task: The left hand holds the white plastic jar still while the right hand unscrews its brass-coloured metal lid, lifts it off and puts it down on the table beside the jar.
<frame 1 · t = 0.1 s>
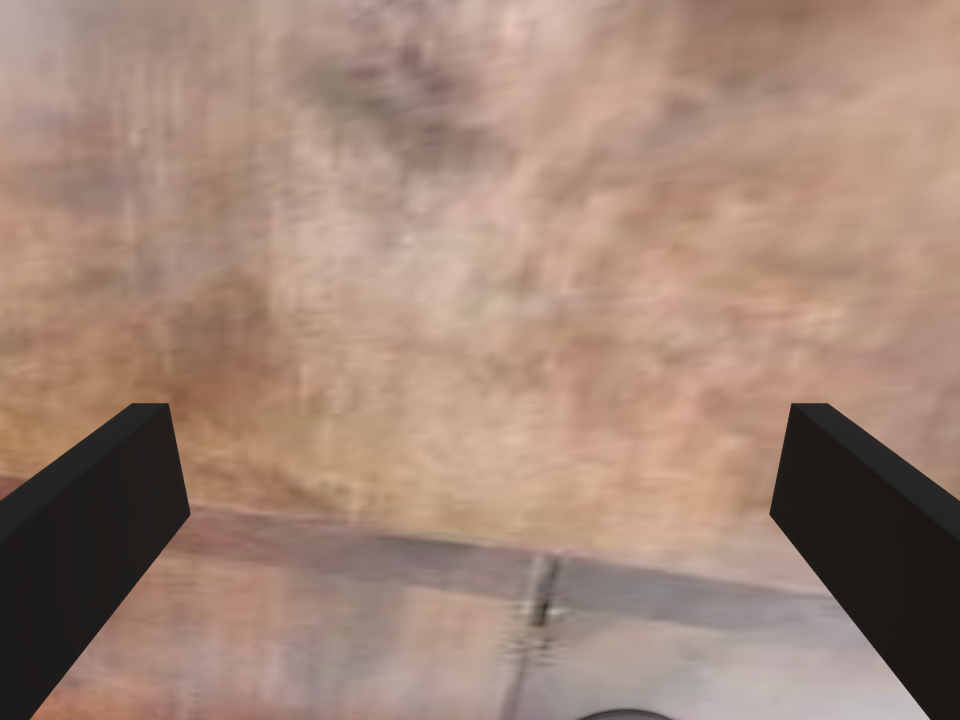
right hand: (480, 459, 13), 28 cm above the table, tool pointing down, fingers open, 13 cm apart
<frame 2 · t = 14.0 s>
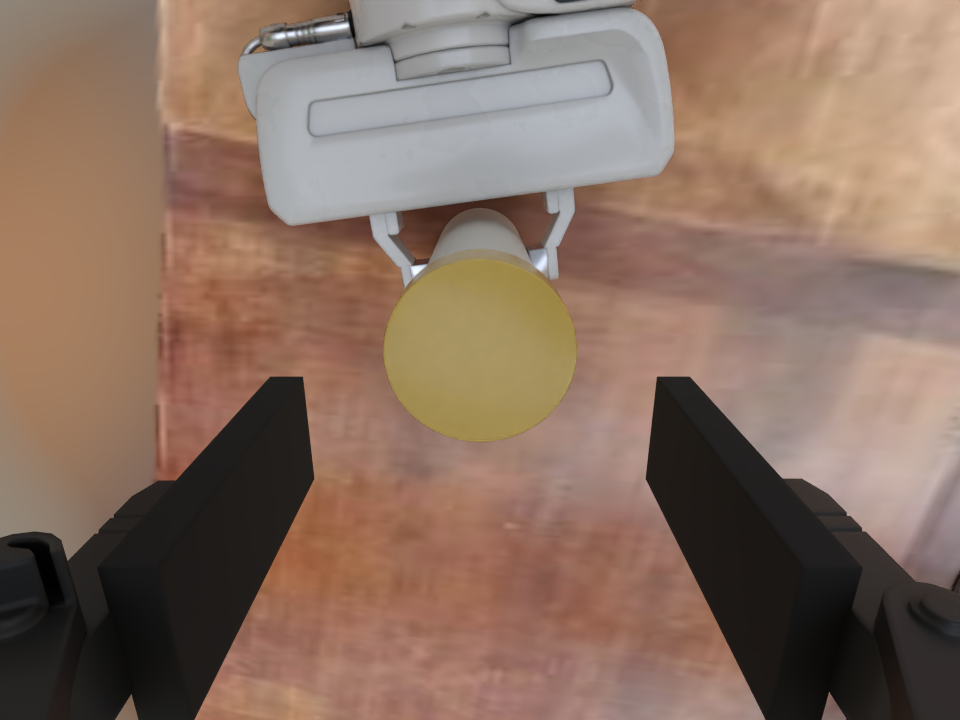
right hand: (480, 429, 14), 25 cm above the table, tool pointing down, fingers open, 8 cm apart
lid: (480, 352, 19), point 20 cm above the table, screwed on, not yet turned
jar: (480, 250, 38), on the table, touching left hand
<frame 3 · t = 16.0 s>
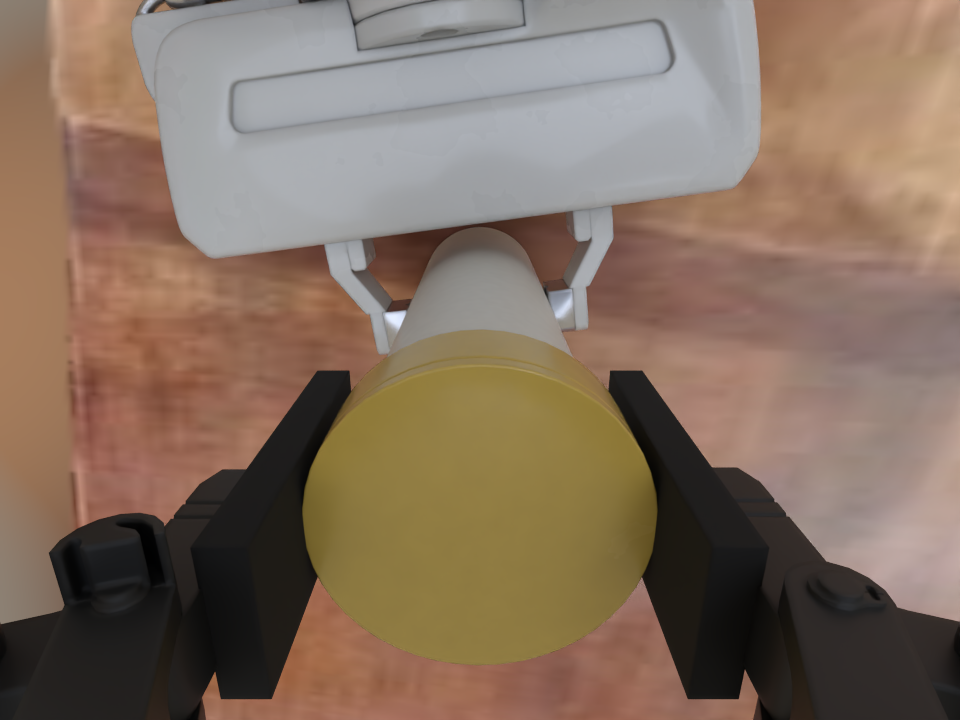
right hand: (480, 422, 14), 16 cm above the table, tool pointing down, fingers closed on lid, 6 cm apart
left hand: (484, 338, 23), fingers closed on jar, 5 cm apart
lid: (480, 519, 11), point 20 cm above the table, screwed on, not yet turned, touching right hand
jar: (479, 282, 29), on the table, touching left hand
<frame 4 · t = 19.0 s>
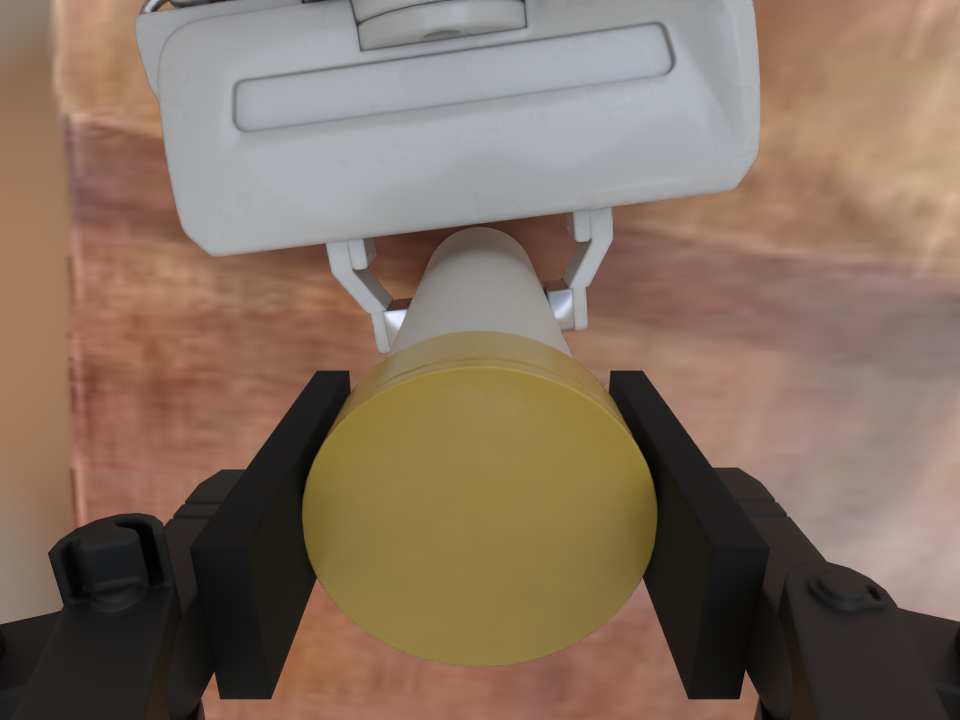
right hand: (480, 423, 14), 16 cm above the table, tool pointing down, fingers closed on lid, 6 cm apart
left hand: (483, 337, 24), fingers closed on jar, 5 cm apart
lid: (479, 520, 11), point 20 cm above the table, turned 87° so far, risen 0.1 cm, still on its thread, touching right hand
jar: (479, 281, 29), on the table, touching left hand
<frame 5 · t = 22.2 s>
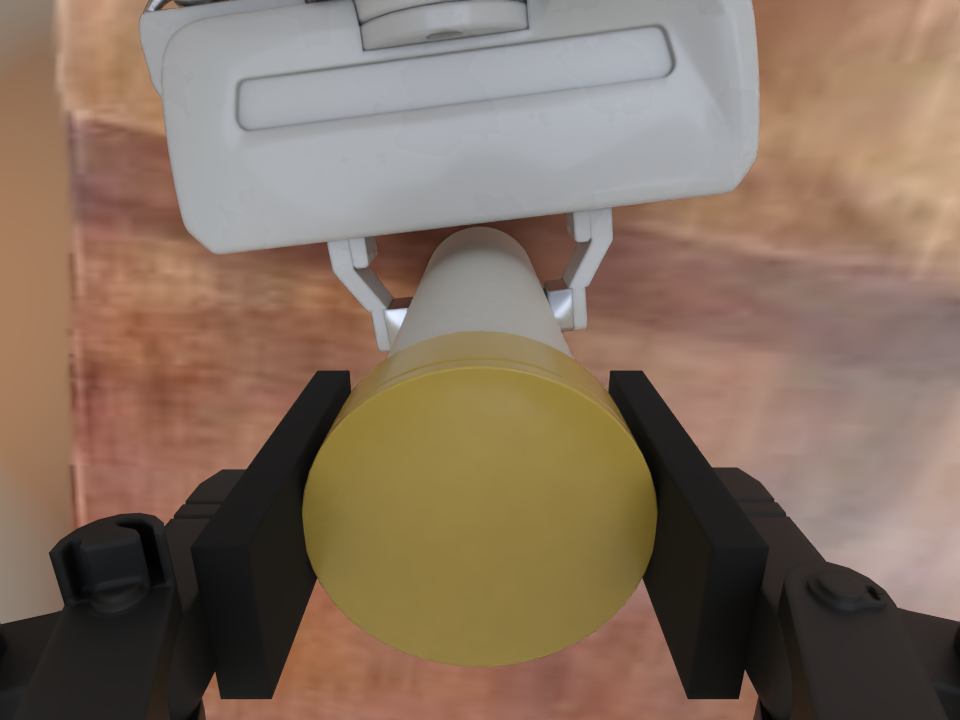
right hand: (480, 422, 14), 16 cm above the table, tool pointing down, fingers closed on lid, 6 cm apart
left hand: (483, 336, 24), fingers closed on jar, 5 cm apart
lid: (479, 520, 11), point 20 cm above the table, turned 174° so far, risen 0.3 cm, still on its thread, touching right hand
jar: (479, 281, 29), on the table, touching left hand
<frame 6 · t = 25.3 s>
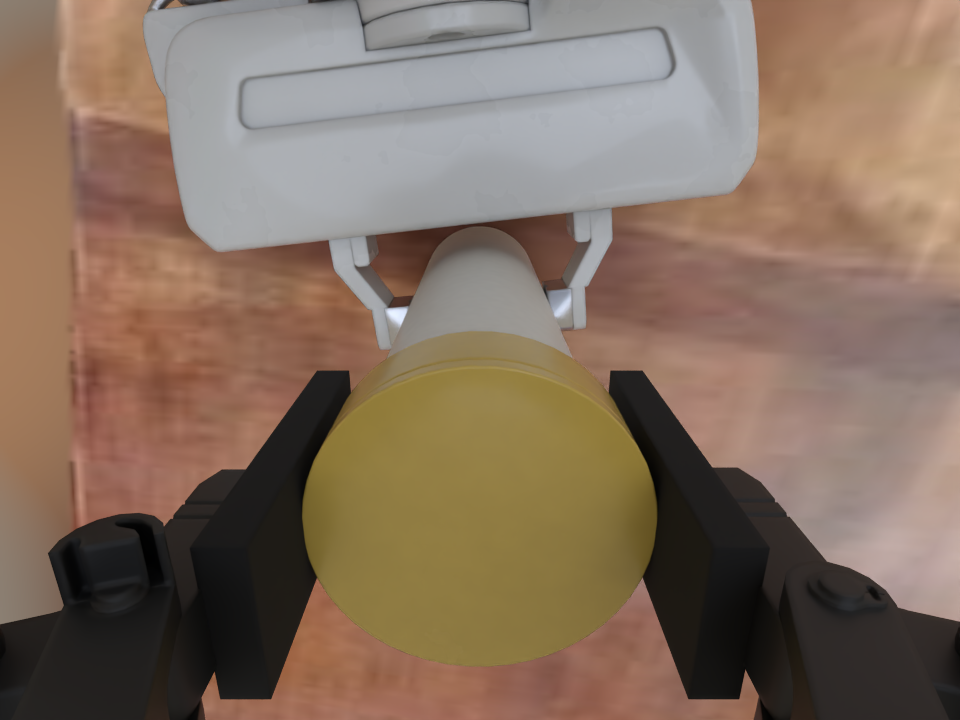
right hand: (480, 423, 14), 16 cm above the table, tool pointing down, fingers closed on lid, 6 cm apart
left hand: (483, 335, 24), fingers closed on jar, 5 cm apart
lid: (479, 520, 11), point 20 cm above the table, turned 260° so far, risen 0.4 cm, still on its thread, touching right hand
jar: (479, 280, 30), on the table, touching left hand
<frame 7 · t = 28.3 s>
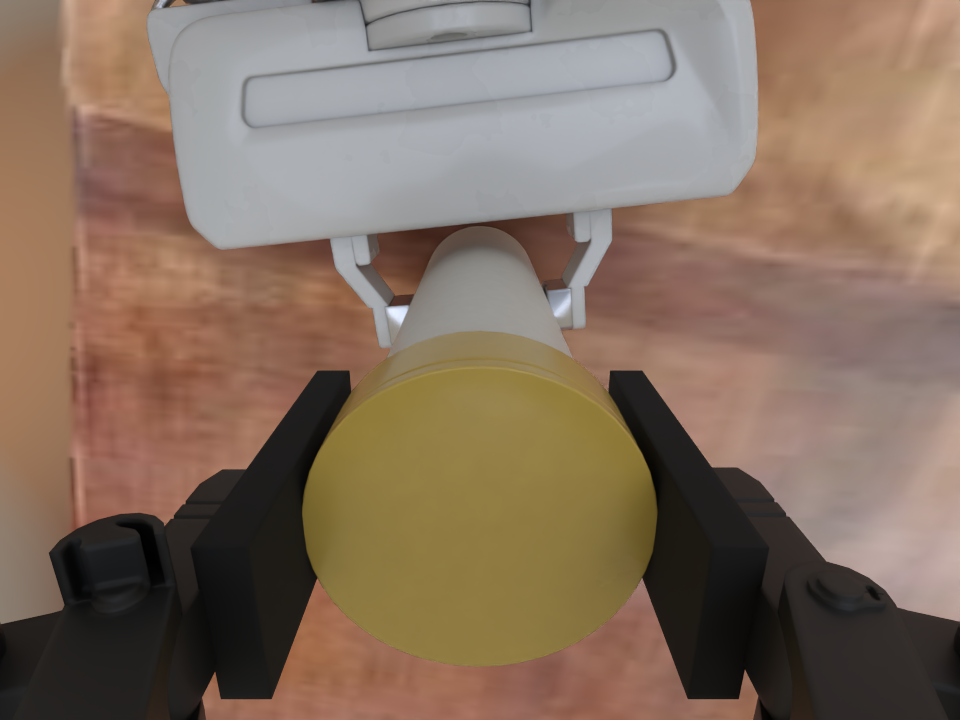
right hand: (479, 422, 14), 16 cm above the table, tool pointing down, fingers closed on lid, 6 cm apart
left hand: (483, 334, 24), fingers closed on jar, 5 cm apart
lid: (479, 520, 11), point 20 cm above the table, turned 347° so far, risen 0.6 cm, still on its thread, touching right hand
jar: (479, 280, 30), on the table, touching left hand
when the right hand's fingers open (0 cm above the table, at t = 36.5 s): lid drops 2 cm, point 2 cm above the table.
when the left hand's fingers open (6 cm above the table, at t = 37.2 s): jar stays where it is, on the table.
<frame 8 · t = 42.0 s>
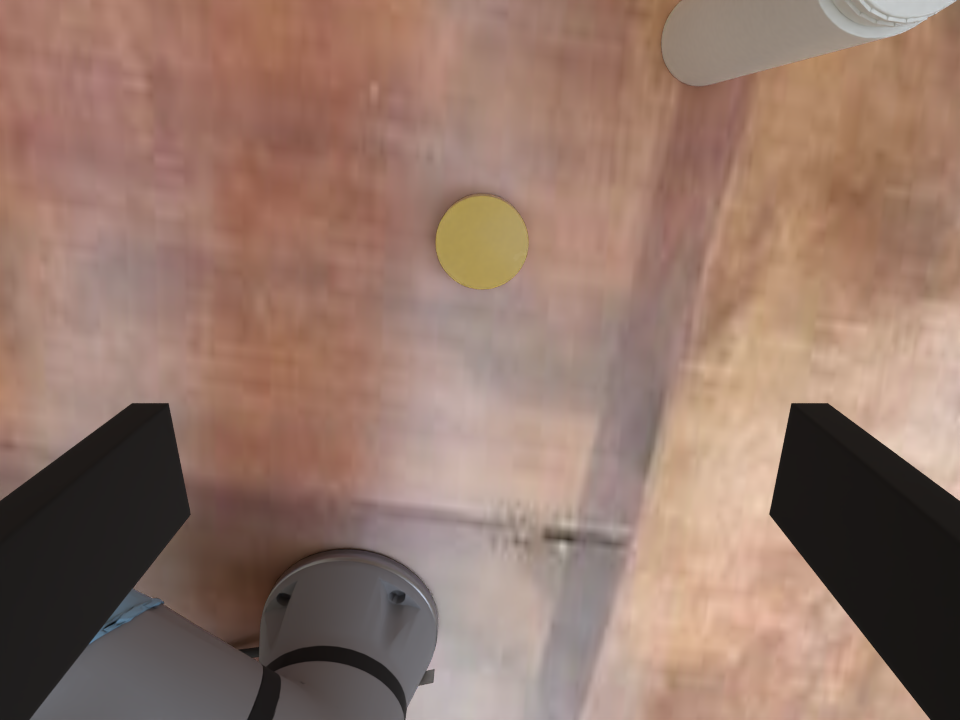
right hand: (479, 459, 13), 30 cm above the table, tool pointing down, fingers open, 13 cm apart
lid: (482, 243, 40), point 2 cm above the table, off its thread
jar: (704, 39, 37), on the table
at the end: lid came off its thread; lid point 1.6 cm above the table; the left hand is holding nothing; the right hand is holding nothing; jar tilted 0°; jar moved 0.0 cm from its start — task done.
